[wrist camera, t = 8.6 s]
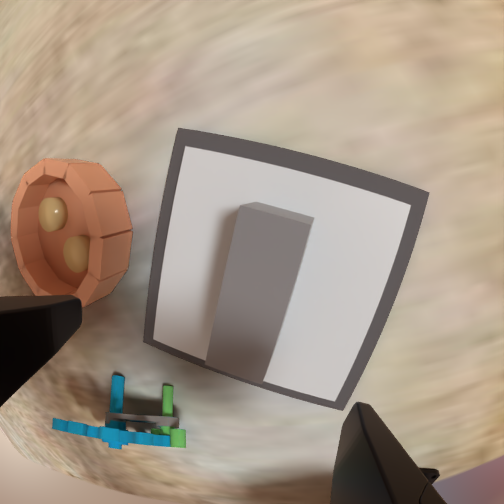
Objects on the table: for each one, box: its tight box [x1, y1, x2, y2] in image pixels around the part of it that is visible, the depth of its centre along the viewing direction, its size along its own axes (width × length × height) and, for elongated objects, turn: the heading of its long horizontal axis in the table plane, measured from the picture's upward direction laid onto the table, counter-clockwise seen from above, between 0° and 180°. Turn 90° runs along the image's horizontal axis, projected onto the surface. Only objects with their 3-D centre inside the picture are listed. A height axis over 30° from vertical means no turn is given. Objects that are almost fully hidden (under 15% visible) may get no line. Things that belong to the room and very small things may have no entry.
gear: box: [52, 375, 186, 449], centre depth 20 cm, size 11×6×10 cm
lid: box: [153, 146, 411, 401], centre depth 15 cm, size 12×12×4 cm
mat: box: [143, 128, 429, 411], centre depth 17 cm, size 14×14×1 cm
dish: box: [11, 158, 133, 308], centre depth 19 cm, size 10×10×3 cm
